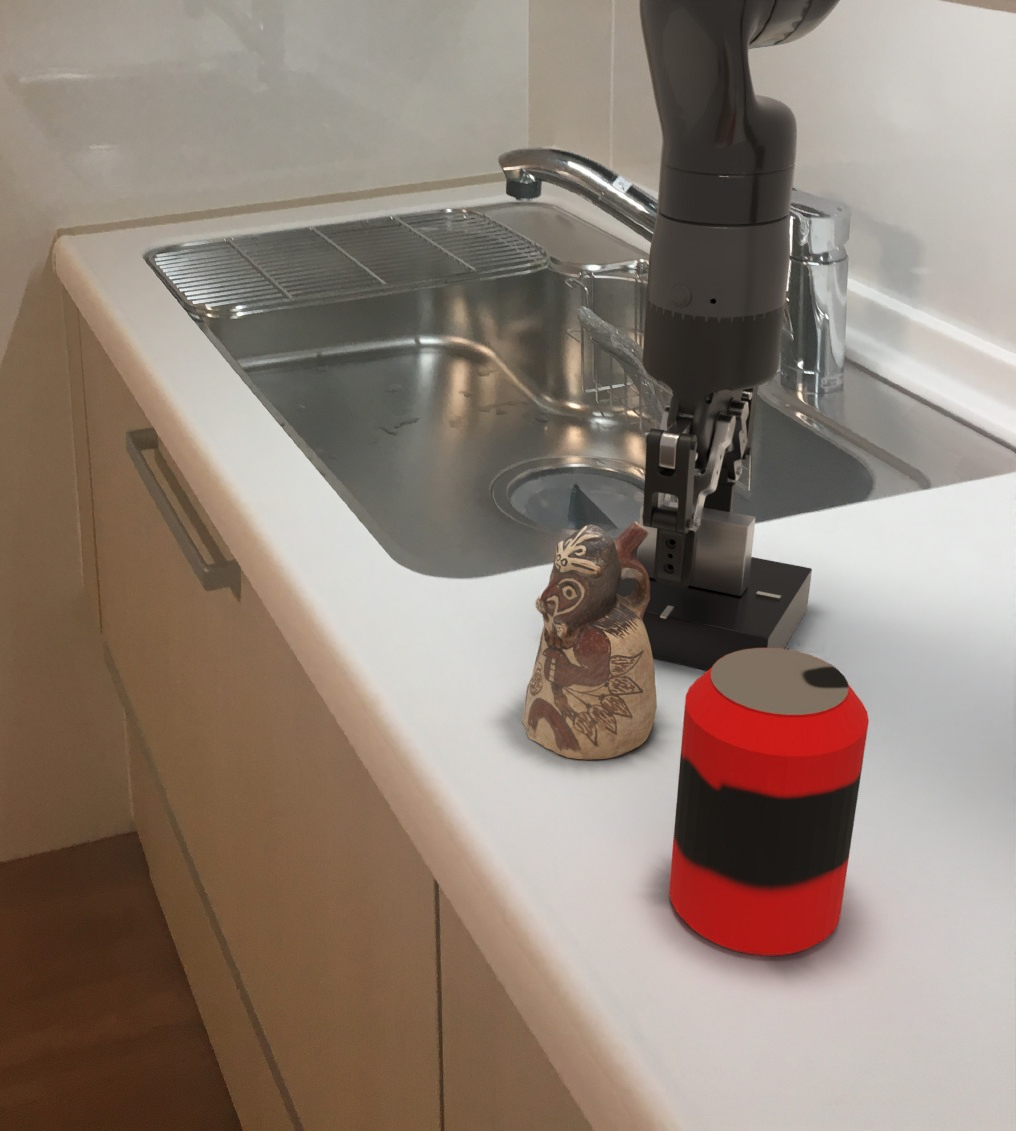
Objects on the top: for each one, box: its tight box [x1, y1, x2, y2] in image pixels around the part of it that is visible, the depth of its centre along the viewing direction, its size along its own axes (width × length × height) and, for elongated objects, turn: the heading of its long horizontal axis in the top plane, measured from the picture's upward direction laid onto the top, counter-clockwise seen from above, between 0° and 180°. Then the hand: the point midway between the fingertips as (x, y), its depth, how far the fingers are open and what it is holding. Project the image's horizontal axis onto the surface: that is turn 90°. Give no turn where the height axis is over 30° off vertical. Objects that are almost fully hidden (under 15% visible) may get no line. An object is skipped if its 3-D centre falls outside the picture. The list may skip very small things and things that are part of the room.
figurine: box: [521, 521, 658, 760], centre depth 83 cm, size 7×7×12 cm
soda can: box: [668, 648, 870, 957], centre depth 68 cm, size 8×8×12 cm
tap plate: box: [616, 548, 813, 671], centre depth 95 cm, size 12×11×3 cm
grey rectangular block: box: [637, 501, 756, 596], centre depth 93 cm, size 6×2×5 cm, turn 59°
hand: (692, 558), depth 93 cm, fingers open, 7 cm apart
